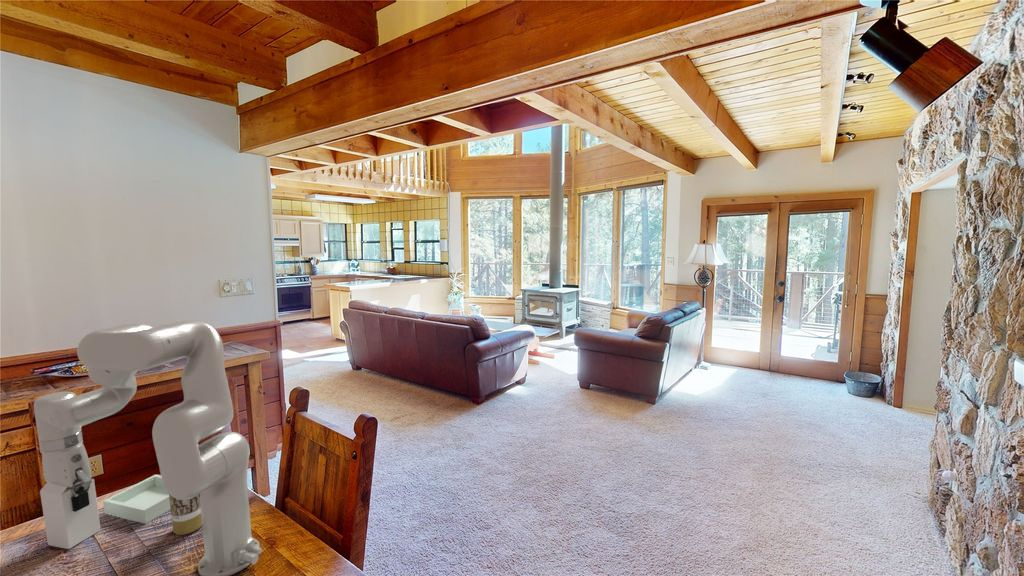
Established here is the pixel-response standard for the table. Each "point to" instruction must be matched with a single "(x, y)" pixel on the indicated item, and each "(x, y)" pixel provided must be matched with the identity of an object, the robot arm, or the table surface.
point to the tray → (140, 501)
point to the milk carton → (68, 516)
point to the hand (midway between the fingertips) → (70, 505)
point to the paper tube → (185, 515)
